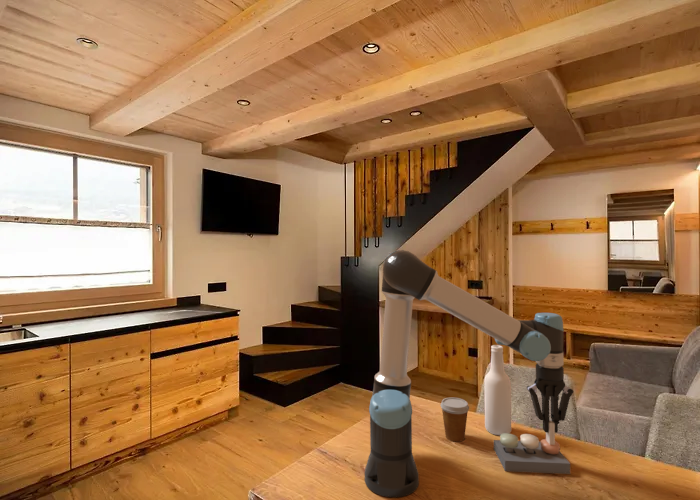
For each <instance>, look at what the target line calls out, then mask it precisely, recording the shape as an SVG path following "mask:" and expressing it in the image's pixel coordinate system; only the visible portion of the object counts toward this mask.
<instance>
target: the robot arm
mask: <svg viewBox="0 0 700 500" xmlns="http://www.w3.org/2000/svg"><path fill="white" fill-rule="evenodd" d="M381 293H382V294H383V296H384V297H385V304H384V316H383V326H382V327H383V329H382V336H381V337H382V340H381V351H380V364H379V371H378V372H377V373H375V375H374V380H373V389H372V395H371V397H370V402H369V406H368V408H369V410H368V411H369V412H368V413H369V415H370V416H369V425H370V426H369V430H370V437H369V438H370V453H369V455H368V458H367V463H366V465H365V468H364V482H365V485H366V487H367V489H368V490H370V491H371V492H373V494H377V495H379V496H381V497H385V498H401V497H405V496H409V495H411V494H412V493H414V492H415V491H416V490H417V489H418V487H419V484H420V478H419V475H420V474H419V471H418V467H417V465H416V461H415V459H414V456H413V435H412V434H413V433H412V430H413V429H412V428H413V426H412V425H413V423H412V420H413V419H412V418H413V417H412V415H413V408H412V401H411V399H410V397H411V387H412V380H411V378H410V377H409V376H408V373H407V372H408V367H409V366H408V365H409V363H408V362H409V352H410V341H411V327H412V326H411V325H412V318H413V317H412V316H413V315H412V314H413V303H414V302H413V301H414V299H416V300H417V301H424V300H425V301H427V302H429V303H431V304H432V305H434V306H436V307H438V308H440V309H442V310H443V311H445V312H447V313H448V314H450V315H452V316H454V317H456V318H458V319H459V320H461V321H463V322H465V324H468V325H470V326H471V327H473V328H475V329H477V330H479V331H480V332H482V333H484V334H485V335H488V336H489V337H492V338H493V339H494V341H495V343H496V345H500V346H506V347H509V348H510V349H512V350H514V351H516V352H517V353H519V354H521V355H522V356H523V357H524V358H526V359H528V360H529V361H532V362H535V380H534V383H533V384H532V385H527V386H526V389H527V390H528V392H529V395H530V397H531V401H532V405H533V409H534V413H535V416H536V418H537V419H538V420H539V421H542V430H543V432H545V439H546V441H547V442H548V443H549V444H550V445H555V441H556V434H557V433H558V432H559V428H558V426H559V425H558V424H560V422H561V421H562V422H563V421H565V419H566V415H567V412H568V407H569V404H570V398H571V397H572V395H573V394H574V389H572V388H571V387H570V386H567V385H566V383H565V381H564V380H565V377H564V376H565V373H564V371H565V369H564V367H563V366H564V365H565V364H564V363H565V362H564V321H563V316H561V315H560V314H558V313H553V312H537V313H535V315H534V318H533V319H529V320H527V319H523V320H522V319H517V318H514V317H513V316H511V315H509V314H507V313H505V311H502V310H500V309H498V308H497V307H495V306H493V305H491V304H489V303H488V302H486V301H484V300H483V299H480V298H479V297H477V296H475V295H473V294H472V293H470V292H468V291H466V290H464V289H463V288H461V287H459V286H457V285H456V284H454V283H452V282H450V281H448V280H447V279H445V278H443V277H441V276H439V274H438V271H437V270H436V269H434V268H432V267H431V266H429V265H428V264H426V263H425V262H424V261H422V260H421V259H420V258H419V257H418V256H417V255H415V254H414V253H413V252H411V251H408V250H404V249H401V250H400V249H398V250H395V251H392V252H390V254H388V255H387V256H386V258H385V259H384V261H383V265H382V281H381ZM537 390H538V391H537ZM538 392H540V397H541V404H540V402H539V397H538V394H537V393H538ZM561 392H562V393H561ZM560 394H561V397H560ZM559 400H560V401H559Z"/></svg>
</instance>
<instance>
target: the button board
mask: <svg viewBox="0 0 700 500" xmlns="http://www.w3.org/2000/svg"><path fill="white" fill-rule="evenodd" d="M493 450H494V452H495V455H496V456H497V459H498V460H499V462H500V464H501V466H502V467H503V468H502V469H504V471H505V472H515V473H520V472H521V473H535V474H536V473H540V474H541V473H542V474H559V475H571V462H570V461H569V460H568V459H567V458H566V457H565V456H564V454H563V453H562V452H561V451H560V453H559V454H554V455H550V454H546V452H544V451H543V450H542V449H541V441H539V447H538V448H536V449H534V454H526V447H524V446H522V445H521V440H518V447H516V448H513V453H506V452H505V446H503V445H502V444H501V443H500V439H493Z"/></svg>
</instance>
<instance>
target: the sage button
mask: <svg viewBox="0 0 700 500" xmlns="http://www.w3.org/2000/svg"><path fill="white" fill-rule="evenodd" d="M499 440H500V443H501V444H502V445H503V446H505V452H506V453H513V448H516V447H518V441H519V438H518V436H517V435H515V434H512V433H503V434H501V435H500V436H499Z"/></svg>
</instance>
